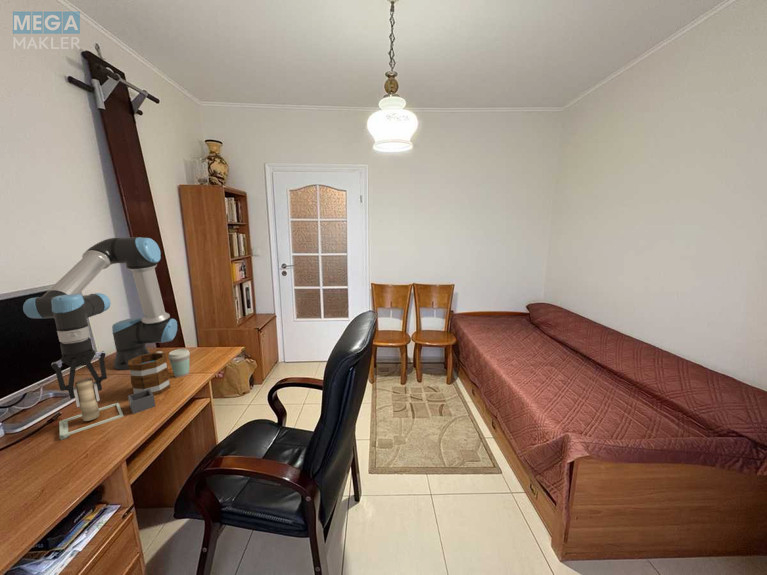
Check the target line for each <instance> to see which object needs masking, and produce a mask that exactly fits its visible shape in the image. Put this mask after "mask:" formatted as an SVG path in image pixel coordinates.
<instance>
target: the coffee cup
mask: <svg viewBox="0 0 767 575" xmlns="http://www.w3.org/2000/svg"><path fill="white" fill-rule="evenodd" d="M190 354H191V353H190V351H189V349H188V348H178V349H174V350H171V351H170V352H169V353H168V356H167V359H168V360H169V362H170V363H169V364H170V366H171V370H172V373H173V376H174V377H175V378H181V377H182V378H183V377H185V376H188V375H190Z"/></svg>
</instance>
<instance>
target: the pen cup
mask: <svg viewBox="0 0 767 575" xmlns="http://www.w3.org/2000/svg"><path fill="white" fill-rule="evenodd" d="M127 398H128V403H129V404H128V405H129V408H130V410H131V411H130V412H131V413H132V415H134V414H137V413H141V412H143V411H147V410H149V409H151V408H155V407H156V402H155V400H156V399H155V396H154V395H153V393H152V392H151V390H150V389H148V390H145V391H141V392H138V393H135V394H134V393H133V394H129V395H127Z"/></svg>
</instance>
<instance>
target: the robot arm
mask: <svg viewBox="0 0 767 575" xmlns="http://www.w3.org/2000/svg"><path fill="white" fill-rule="evenodd" d="M161 255H162V254H161V249H160V247H159V244H158V243H157V242H156V241H155V240H153V239H152V238H150V237H141V236H139V237H138V236H137V237H135V236H134V237H111V238H107V239H103V240H101V241H99V242H97V243H96V244H94V245H92V246H90V247H89V248H87V250H85V252H84V253H82V256H81V259H80V260H79V261H78V262H77V263H76V264H74V266H73V267H71V268H70V270H69V271H68V272H67V273H65V275H63V276H62V277H61V278H60V279H59V280H58V281H57V282H56V283H55V284H54V285H53V286H51V287H50V288H49V289H48V290H47V291H46V292H45V293H44V294H43V295H41V296H40V297H39V296H36V297H31V298H28V299H26V300H25V302H24V303H23V306H22V309H23V310H22V311H23V313H24V314H25V315H26V317H28V318H30V319H46V320H47V319H54V322H55V325H56V326H55V327H56V333H57V336H58V340H59V342H60V344H59V346H60V351H61V357H60V359H59V360H57V361H52V362H51V365H50V367H51V368H52V369H53V370H54V371H55V375H56V378H57V383H58V387H59V390H60V391H61V392H63V391H68V394H69V398H70V399H71V400H72V399H74V400H75V403H76V407H77V408H80V403H79V398H78V394H77V389H76V386H74V385H75V378H76V369H77V368H79V367H81V366H82V367H84V366H86V367H87V370H88V371H89V373H90V374H91V375H92V379H93V383H94V389H95V394H96V399H97V402H99V401H100V394H99V392H100V391H102V390H103V387H102V382H103V381H104V380H107V379H108V376H107V370H106V364H105V358H106V352H105V351H104V350H103V351H101V352H100V351H96V350H95V349H94V348H93V347H94V346H93V343H92V338H91V332H90V328H89V322H88V318H91V317H94V316H97V315H101V314H103V313H104V312H106V311H108V309H110V307H111V304H112V302H111V300H110V297H109V296H107V295H106V294H104V293H101V292H100V293H99V292H97V293H96V292H95V293H91V294H88V295H87V294H86V295H84V294H83V295H82V294H81V293H83V291H84V290H85V289H86V288H87V287H88V285H89V284H90V283H91V282H92V281H93V280H94V279H95V278H96V277H97V276H98V275H99V274H100V273H101V271H102V270H105V269H107V268H109V267H110V266H111V265H115V264H125V266H126V269H128V270H129V271H131V272H132V276H133V280H134V282H135V286H136V291H137V294H138V298H139V301H140V305H141V308H142V313H143V315H144V316H143V318H142V317H140V316H139V317H132V318H131V317H130V318H126V319H123V320H120V321H118V322H115V323H114V324H112V329H111V330H112V331H111V332H112V335H113V343H114V347H115V352H116V353H115V356H114V357H115V358H114V361H113V367H114V369H115V370H119V371H120V370H121V371H123V370H125V371H126V370H130V369H129V367H128V361H129V360H131V359H133V358H135V357H138V356H140V355H145V354H150V351H149V349H148V347H147V346H146V344H155V343H156V344H157V343H158V344H159V343H162V344H163V343H167V342H172V341H173V340H174V339H175V337H176V335H177V332H178V321H177V320H176V319H175V318H171V315H170V313H169V312H166V311H165V306H164V302H163V298H162V293H161V289H160V284H159V282H158V281H159V280H158V278H157V273H156V268H157V265H158V263H159V262H160V261H161V259H162V257H161ZM95 356H96V359H98V362H99V367H100V368H99V369H100V374H101V375H100V376H99V375H98V373H97V371H96V370H95V367H94V366H93V363H92V360H93V358H94V357H95ZM63 364H65V365H67V366H69V374H68V375H69V376H68V384H66V383H65V379H64V377H63V372H62V367H63Z"/></svg>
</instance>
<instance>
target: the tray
mask: <svg viewBox="0 0 767 575" xmlns="http://www.w3.org/2000/svg"><path fill="white" fill-rule="evenodd" d="M112 407H116V408H117V411H118V414H117V415H115V416H113V417H110V418H109V417H108V418H106V419H104V420H100V421H98V422H97V421H96V422H95V423H91V424H89V425H86V426H84V427H80V428H77V429H74V430H71V431H69V421H72V420H75V419H78V418H81V417H82V413H81V414H77V415H74V416H71V417H68V418H64V419H62V420H58V422H59V423H58V424H59V439H60V441H63V440H65V439H68V438H70V435H73V434H76V433H78V432H81V431H86V430H88V429H91V428H93V427H96V426H99V425H103V424H105V423H108V422H111V421H114V420H117V419H120V418H122V417H124V413H123V410H122V409H121V405H120V403H119V402H115V403H113V404H109V405H105V406H103V407H98V408H99V412H101V411H103V410H106V409H109V408H112Z"/></svg>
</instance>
